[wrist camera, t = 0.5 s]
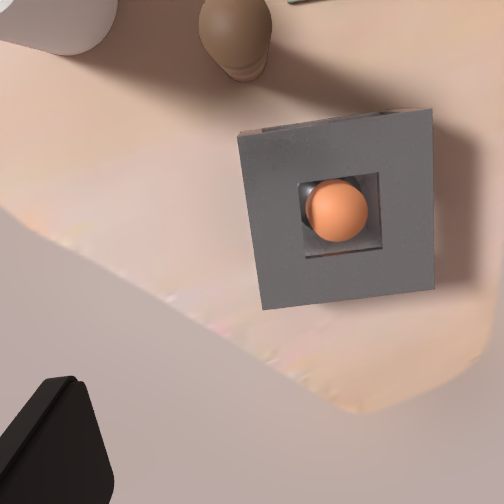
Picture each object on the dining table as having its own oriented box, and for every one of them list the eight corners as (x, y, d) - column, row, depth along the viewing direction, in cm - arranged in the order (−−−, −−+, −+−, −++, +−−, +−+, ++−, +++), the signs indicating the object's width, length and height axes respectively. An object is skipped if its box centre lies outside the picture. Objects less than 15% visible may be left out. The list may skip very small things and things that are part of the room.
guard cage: (240, 131, 33) (237, 137, 27) (401, 108, 32) (432, 108, 27) (261, 278, 37) (262, 310, 31) (406, 260, 36) (434, 289, 30)
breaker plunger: (302, 183, 31) (305, 188, 29) (359, 175, 31) (366, 180, 29) (308, 236, 32) (311, 245, 30) (362, 229, 32) (369, 237, 30)
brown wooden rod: (218, 37, 31) (192, -9, 19) (263, 29, 31) (266, -22, 18) (225, 85, 32) (205, 71, 20) (268, 78, 32) (276, 60, 19)
